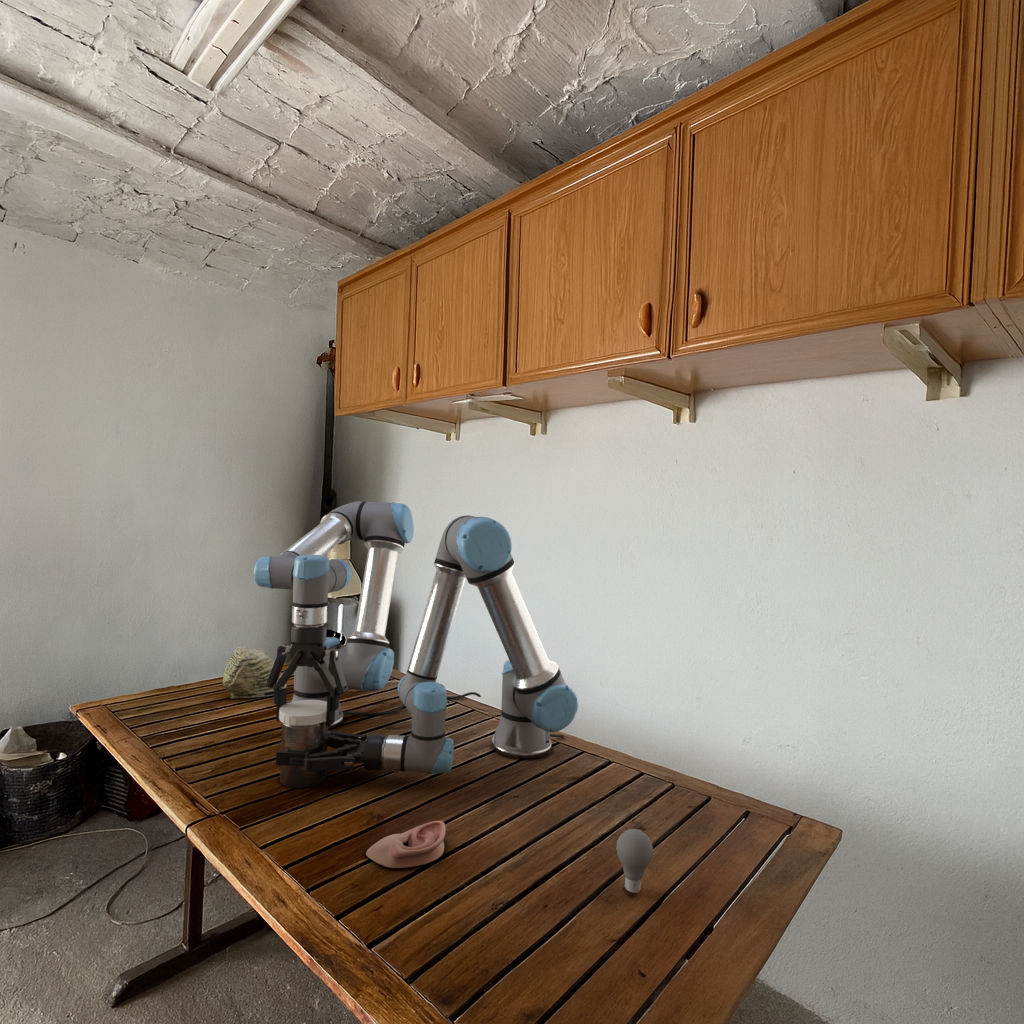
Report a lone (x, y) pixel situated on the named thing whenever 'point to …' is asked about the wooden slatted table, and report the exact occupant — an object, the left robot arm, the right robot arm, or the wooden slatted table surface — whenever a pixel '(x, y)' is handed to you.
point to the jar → (303, 741)
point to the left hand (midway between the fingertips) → (305, 721)
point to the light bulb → (634, 857)
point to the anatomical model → (410, 846)
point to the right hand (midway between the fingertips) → (285, 748)
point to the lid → (303, 712)
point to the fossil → (248, 673)
